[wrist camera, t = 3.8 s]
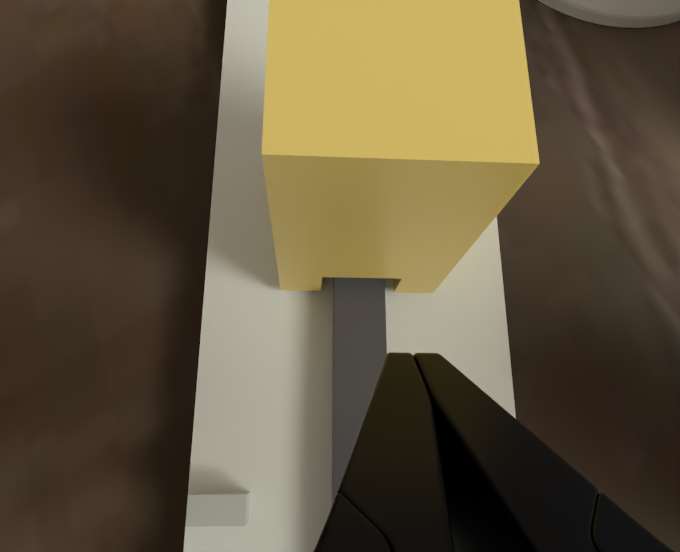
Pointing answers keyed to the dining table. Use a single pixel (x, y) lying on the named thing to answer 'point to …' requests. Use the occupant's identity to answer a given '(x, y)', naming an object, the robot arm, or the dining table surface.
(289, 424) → the white slide rail base
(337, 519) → the robot arm
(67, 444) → the dining table surface
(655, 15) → the candlestick
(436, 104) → the yellow sliding block
